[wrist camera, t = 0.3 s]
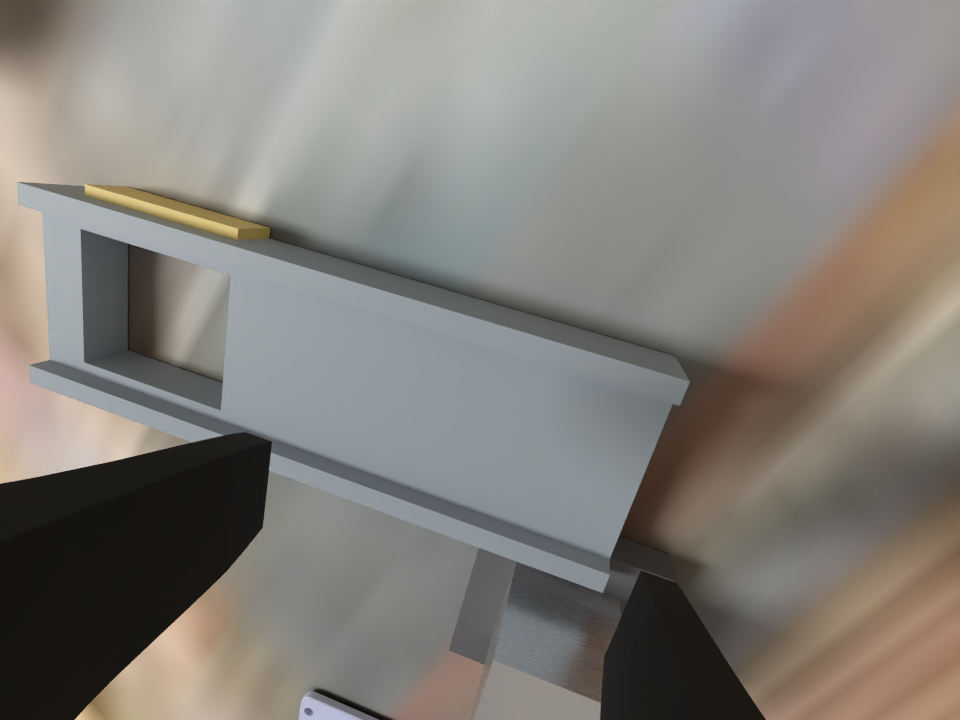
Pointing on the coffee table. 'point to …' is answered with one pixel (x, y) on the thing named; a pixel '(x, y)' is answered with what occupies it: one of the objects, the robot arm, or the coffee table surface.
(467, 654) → the pad
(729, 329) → the coffee table surface
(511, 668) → the block
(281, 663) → the coffee table surface
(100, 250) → the rail
